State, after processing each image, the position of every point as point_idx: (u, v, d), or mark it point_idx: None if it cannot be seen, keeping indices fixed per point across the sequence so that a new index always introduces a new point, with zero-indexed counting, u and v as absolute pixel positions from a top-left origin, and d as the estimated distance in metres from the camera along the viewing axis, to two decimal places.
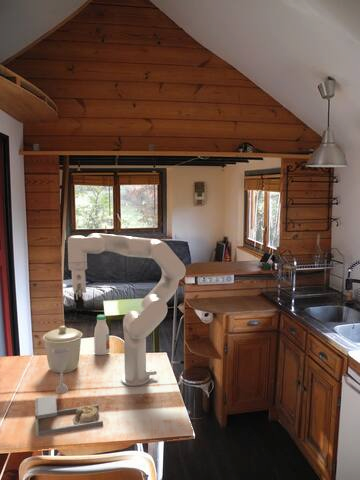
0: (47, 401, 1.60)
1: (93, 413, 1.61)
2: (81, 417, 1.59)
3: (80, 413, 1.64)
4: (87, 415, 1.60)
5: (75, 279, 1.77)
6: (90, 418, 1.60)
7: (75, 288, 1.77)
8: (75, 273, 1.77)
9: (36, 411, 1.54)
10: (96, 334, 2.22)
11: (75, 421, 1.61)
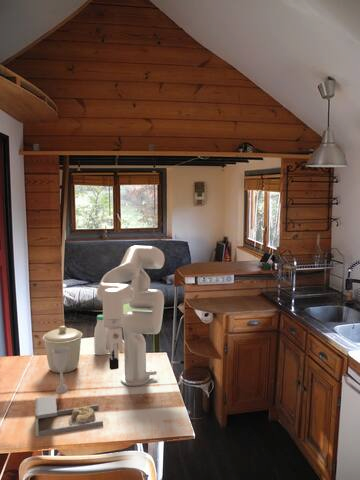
0: (47, 401, 1.60)
1: (89, 414, 1.60)
2: (77, 418, 1.58)
3: (77, 415, 1.63)
4: (83, 416, 1.59)
5: (111, 338, 1.58)
6: (86, 419, 1.59)
7: (111, 348, 1.58)
8: (111, 331, 1.58)
9: (36, 411, 1.54)
10: (96, 334, 2.22)
11: (71, 422, 1.60)
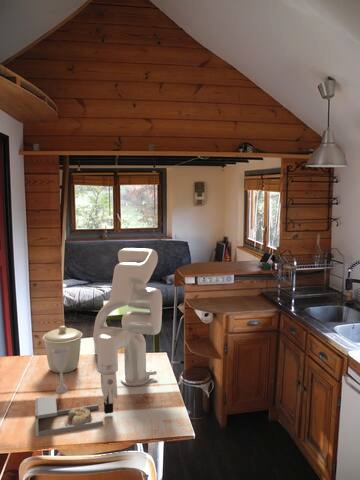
0: (47, 401, 1.60)
1: (86, 415, 1.60)
2: (73, 419, 1.58)
3: (73, 416, 1.63)
4: (79, 417, 1.58)
5: (106, 384, 1.59)
6: (83, 420, 1.58)
7: (106, 394, 1.59)
8: (106, 378, 1.59)
9: (36, 411, 1.54)
10: None
11: (67, 423, 1.60)
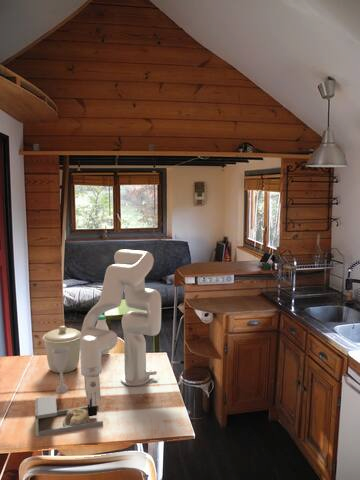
0: (47, 401, 1.60)
1: (83, 416, 1.59)
2: (71, 420, 1.57)
3: (71, 416, 1.62)
4: (77, 418, 1.58)
5: (89, 387, 1.57)
6: (80, 421, 1.58)
7: (89, 397, 1.58)
8: (89, 380, 1.57)
9: (36, 411, 1.54)
10: None
11: (65, 424, 1.59)
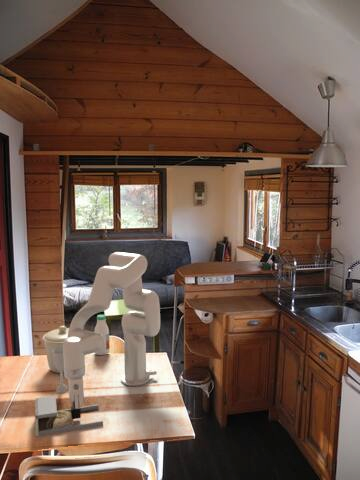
0: (47, 401, 1.60)
1: (67, 418, 1.58)
2: (54, 422, 1.55)
3: (54, 419, 1.60)
4: (60, 420, 1.56)
5: (72, 389, 1.56)
6: (64, 423, 1.56)
7: (72, 399, 1.56)
8: (72, 382, 1.56)
9: (36, 411, 1.54)
10: None
11: (48, 427, 1.57)
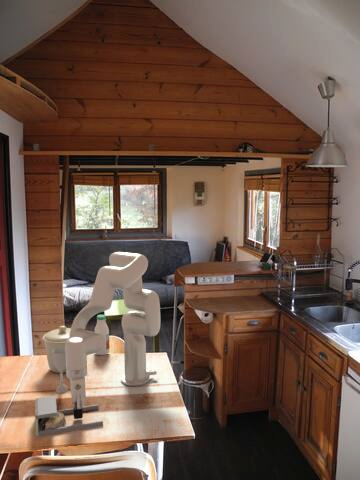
0: (47, 401, 1.60)
1: (59, 419, 1.57)
2: (47, 424, 1.55)
3: (46, 420, 1.60)
4: (53, 421, 1.55)
5: (74, 389, 1.56)
6: (56, 424, 1.55)
7: (74, 399, 1.56)
8: (74, 383, 1.56)
9: (36, 411, 1.54)
10: None
11: (40, 428, 1.57)
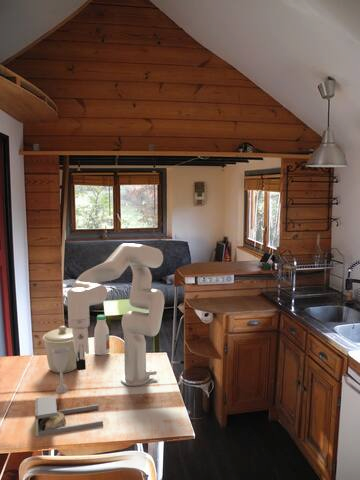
0: (47, 401, 1.60)
1: (59, 419, 1.57)
2: (47, 424, 1.55)
3: (46, 420, 1.60)
4: (53, 421, 1.55)
5: (76, 339, 1.54)
6: (56, 424, 1.55)
7: (76, 349, 1.54)
8: (76, 332, 1.54)
9: (36, 411, 1.54)
10: (96, 334, 2.22)
11: (41, 428, 1.57)
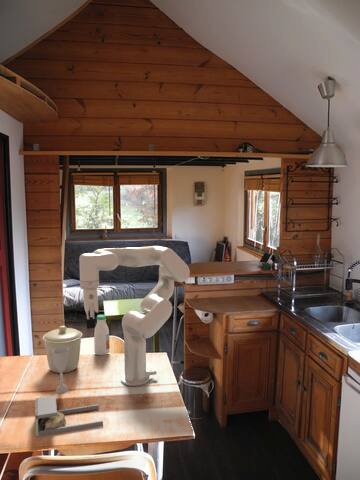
0: (47, 401, 1.60)
1: (59, 419, 1.57)
2: (46, 424, 1.55)
3: (46, 420, 1.60)
4: (53, 422, 1.55)
5: (87, 299, 1.71)
6: (56, 425, 1.55)
7: (87, 308, 1.72)
8: (87, 292, 1.71)
9: (36, 411, 1.54)
10: (96, 334, 2.22)
11: (40, 428, 1.57)
